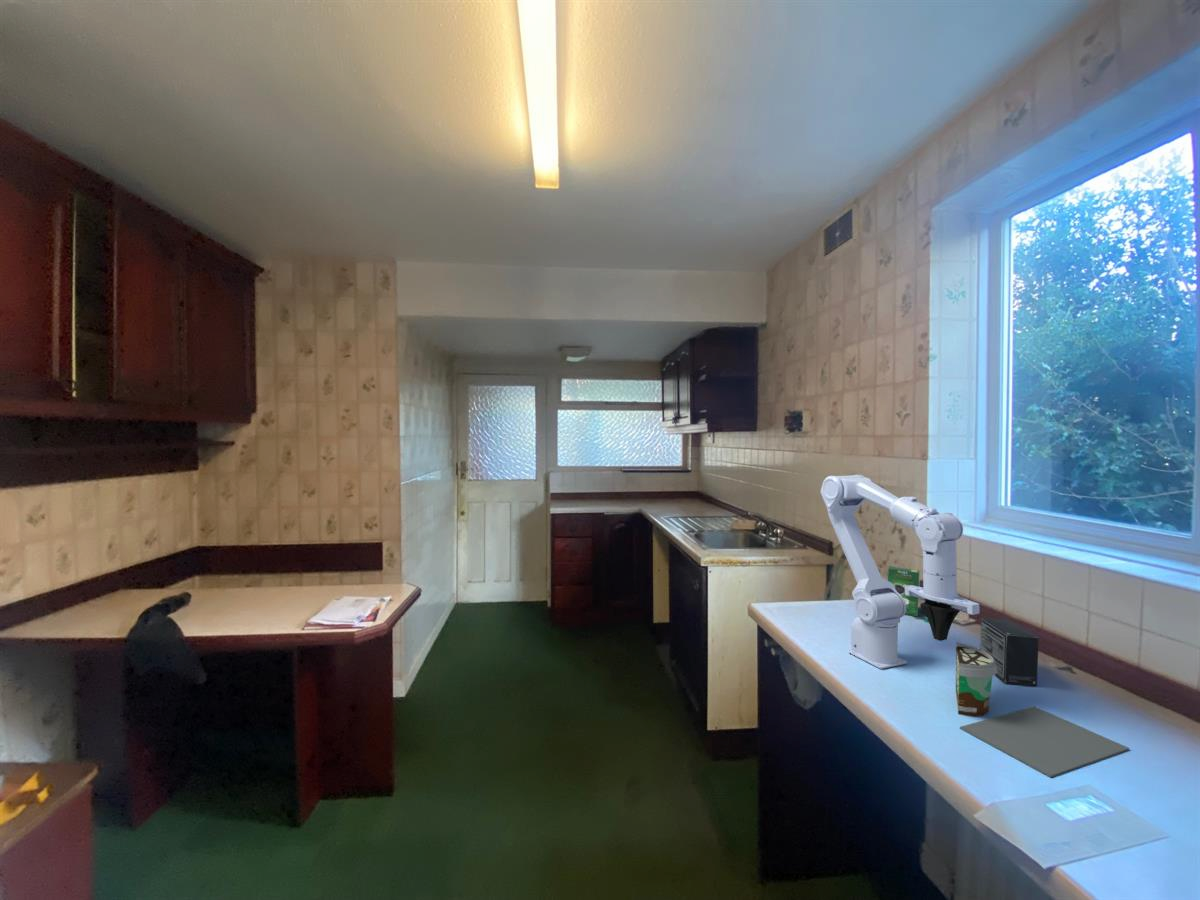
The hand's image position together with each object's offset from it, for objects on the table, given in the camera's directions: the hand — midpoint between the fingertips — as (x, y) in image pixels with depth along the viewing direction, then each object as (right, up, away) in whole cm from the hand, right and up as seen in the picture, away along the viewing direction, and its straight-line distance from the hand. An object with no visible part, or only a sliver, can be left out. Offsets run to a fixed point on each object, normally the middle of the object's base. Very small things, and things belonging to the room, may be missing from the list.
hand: (940, 639), depth 106 cm
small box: (+19, -10, +7) cm, 23 cm away
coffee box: (+18, -9, +44) cm, 49 cm away
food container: (+2, -11, -7) cm, 13 cm away
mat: (+6, -11, -17) cm, 21 cm away
